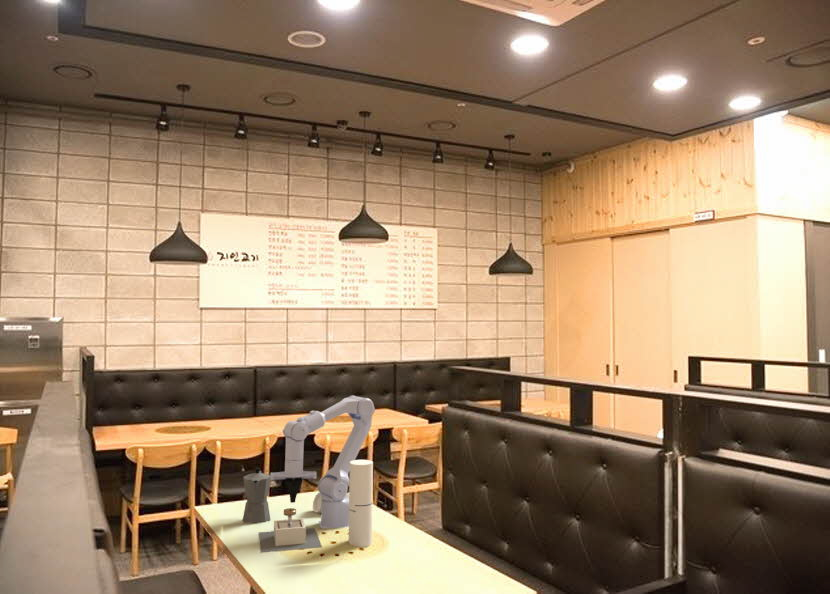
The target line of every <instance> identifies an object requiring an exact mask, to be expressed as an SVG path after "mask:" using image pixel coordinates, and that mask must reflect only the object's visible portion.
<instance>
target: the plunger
mask: <svg viewBox="0 0 830 594" xmlns="http://www.w3.org/2000/svg"><path fill="white" fill-rule="evenodd" d="M295 515H297V509H296V508H291V507H289V508H285V509H283V516H286V517H287V520H288V522H279V523H278V524H279V529H282V528H295V527H301V526H300V522H299V521H293V522H292V519H293V517H294V516H295Z"/></svg>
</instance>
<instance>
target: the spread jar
mask: <svg viewBox="0 0 830 594" xmlns="http://www.w3.org/2000/svg"><path fill="white" fill-rule="evenodd" d="M349 486H350V485H348V487H347V494H346V496H345V497H344V498H349ZM312 510H313V512H314V513H317V514H320V513H321V493H320V492H318V493H317V494H316V495H315V497H314V498H313V501H312Z"/></svg>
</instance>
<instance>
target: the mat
mask: <svg viewBox="0 0 830 594" xmlns="http://www.w3.org/2000/svg"><path fill="white" fill-rule="evenodd" d="M258 539H259V540H258V541H259V546H260V547H259V549H260V554H261V553H270V552H272V553H273V552H283V551H295V550H298V551H299V550H307V549H318V548H323V545H322V543H321V540H320V538H319V536H318V533H317V530H316V528H315V527H312V528H306V543H304V544H292V545H280V546H275V540H274V530H273V531H259V532H258Z"/></svg>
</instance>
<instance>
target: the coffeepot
mask: <svg viewBox="0 0 830 594" xmlns="http://www.w3.org/2000/svg"><path fill="white" fill-rule="evenodd" d="M254 470H255V473H249V474H247V475H245V476H243V479H242V480H243V486H244V492H245V497H246V502H245V505H244V511H243V516H242V522H243V524H262V523H266V522H269V521H271V514H270V508H269V502H268V496H269V493H270V488H271V482H272V480H270V474H268V473H263V472H262V470H261V468H260V467H256V468H255V469H254Z"/></svg>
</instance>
